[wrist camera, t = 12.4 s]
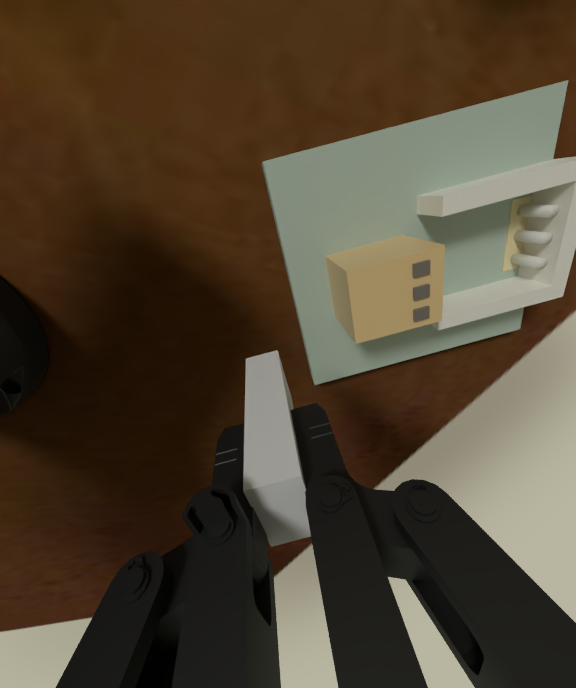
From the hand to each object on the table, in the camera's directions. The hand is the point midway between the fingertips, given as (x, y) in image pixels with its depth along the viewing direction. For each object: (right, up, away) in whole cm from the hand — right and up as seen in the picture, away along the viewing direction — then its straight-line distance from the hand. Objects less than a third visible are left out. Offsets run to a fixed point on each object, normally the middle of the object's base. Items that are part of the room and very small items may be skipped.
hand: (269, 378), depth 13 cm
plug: (+7, +7, +9) cm, 13 cm away
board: (+11, +9, +10) cm, 17 cm away
